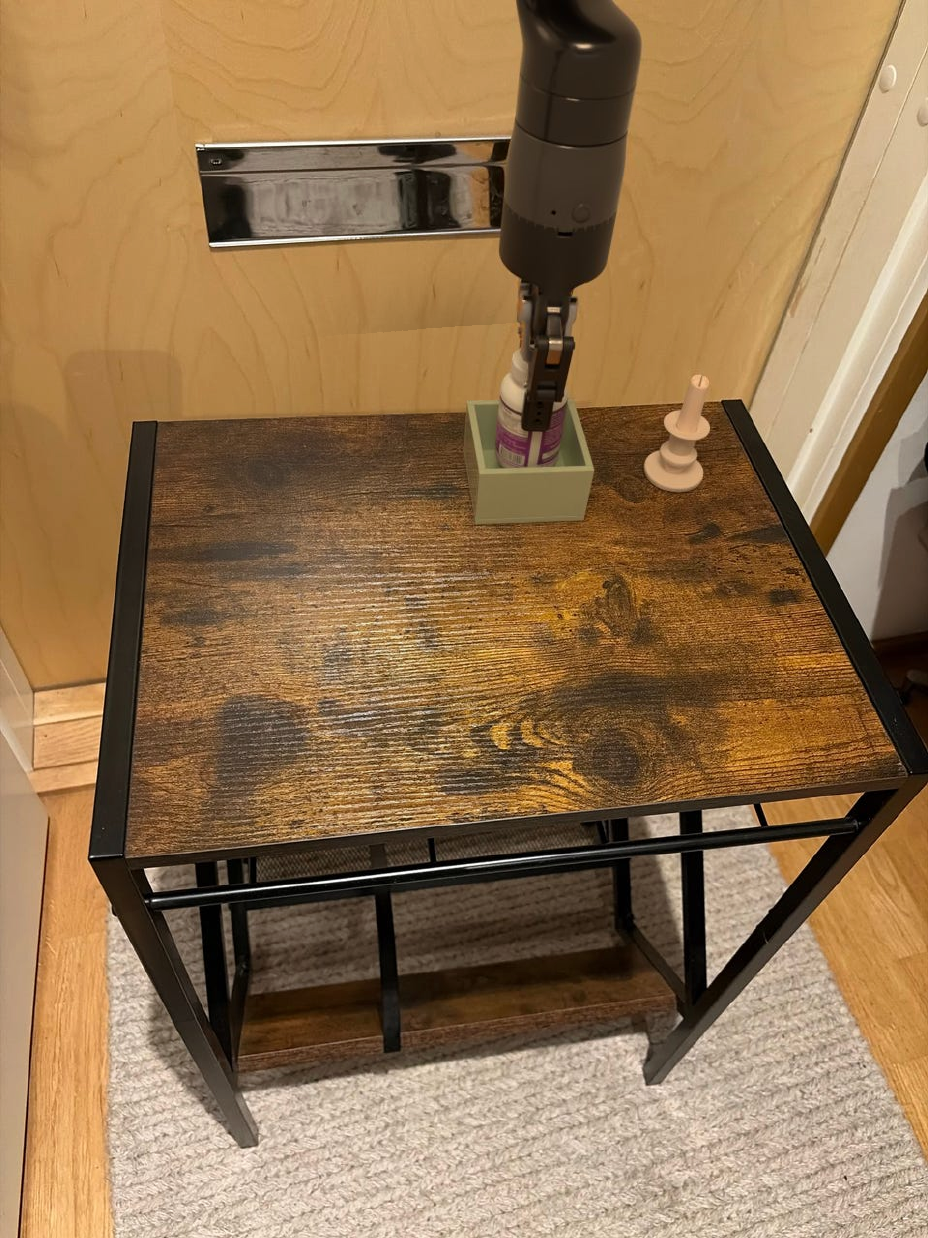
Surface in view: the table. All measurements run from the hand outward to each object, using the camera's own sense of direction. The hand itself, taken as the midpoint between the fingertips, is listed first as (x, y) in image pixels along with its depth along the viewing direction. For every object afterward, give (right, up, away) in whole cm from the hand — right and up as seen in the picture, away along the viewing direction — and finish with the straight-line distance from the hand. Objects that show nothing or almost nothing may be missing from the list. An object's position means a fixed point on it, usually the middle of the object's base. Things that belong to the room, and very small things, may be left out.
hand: (532, 403), depth 74 cm
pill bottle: (0, -4, +4) cm, 6 cm away
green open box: (0, -5, +7) cm, 9 cm away
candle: (+13, -4, +9) cm, 16 cm away
